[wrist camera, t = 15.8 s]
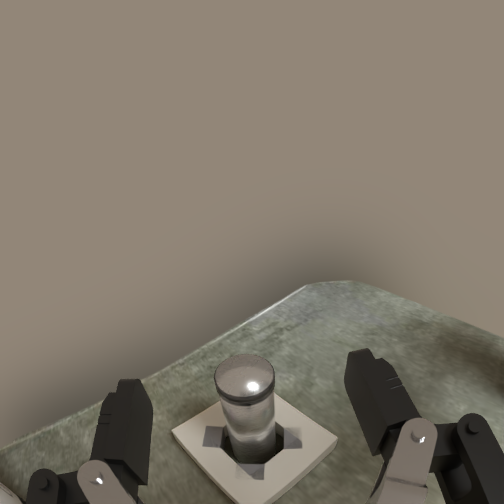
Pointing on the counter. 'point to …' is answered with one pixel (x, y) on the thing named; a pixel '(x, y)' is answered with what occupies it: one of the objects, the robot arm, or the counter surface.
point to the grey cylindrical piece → (248, 406)
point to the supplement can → (9, 496)
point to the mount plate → (256, 475)
